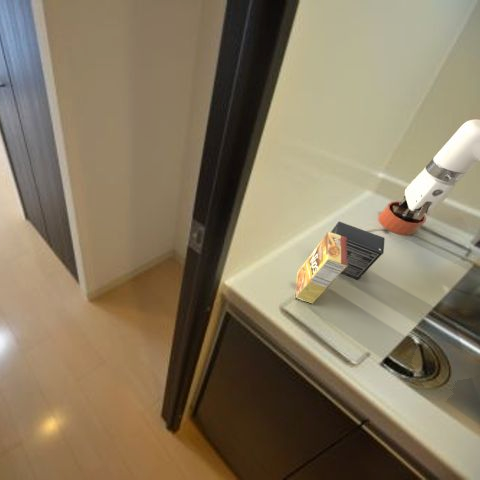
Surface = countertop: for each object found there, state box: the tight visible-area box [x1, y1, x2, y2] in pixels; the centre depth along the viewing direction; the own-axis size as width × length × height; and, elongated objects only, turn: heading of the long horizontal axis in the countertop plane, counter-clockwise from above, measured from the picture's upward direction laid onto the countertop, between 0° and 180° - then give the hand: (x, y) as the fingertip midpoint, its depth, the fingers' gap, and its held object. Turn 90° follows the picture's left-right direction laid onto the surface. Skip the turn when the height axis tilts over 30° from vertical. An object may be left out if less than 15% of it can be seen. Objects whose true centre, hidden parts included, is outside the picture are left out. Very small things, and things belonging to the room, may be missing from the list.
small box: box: [330, 221, 386, 280], centre depth 81 cm, size 11×6×10 cm, turn 58°
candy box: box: [295, 231, 348, 304], centre depth 74 cm, size 9×4×15 cm, turn 156°
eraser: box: [390, 206, 417, 223], centre depth 94 cm, size 6×3×4 cm, turn 68°
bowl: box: [377, 200, 427, 236], centre depth 94 cm, size 10×10×4 cm
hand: (397, 221), depth 96 cm, fingers closed on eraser, 3 cm apart
